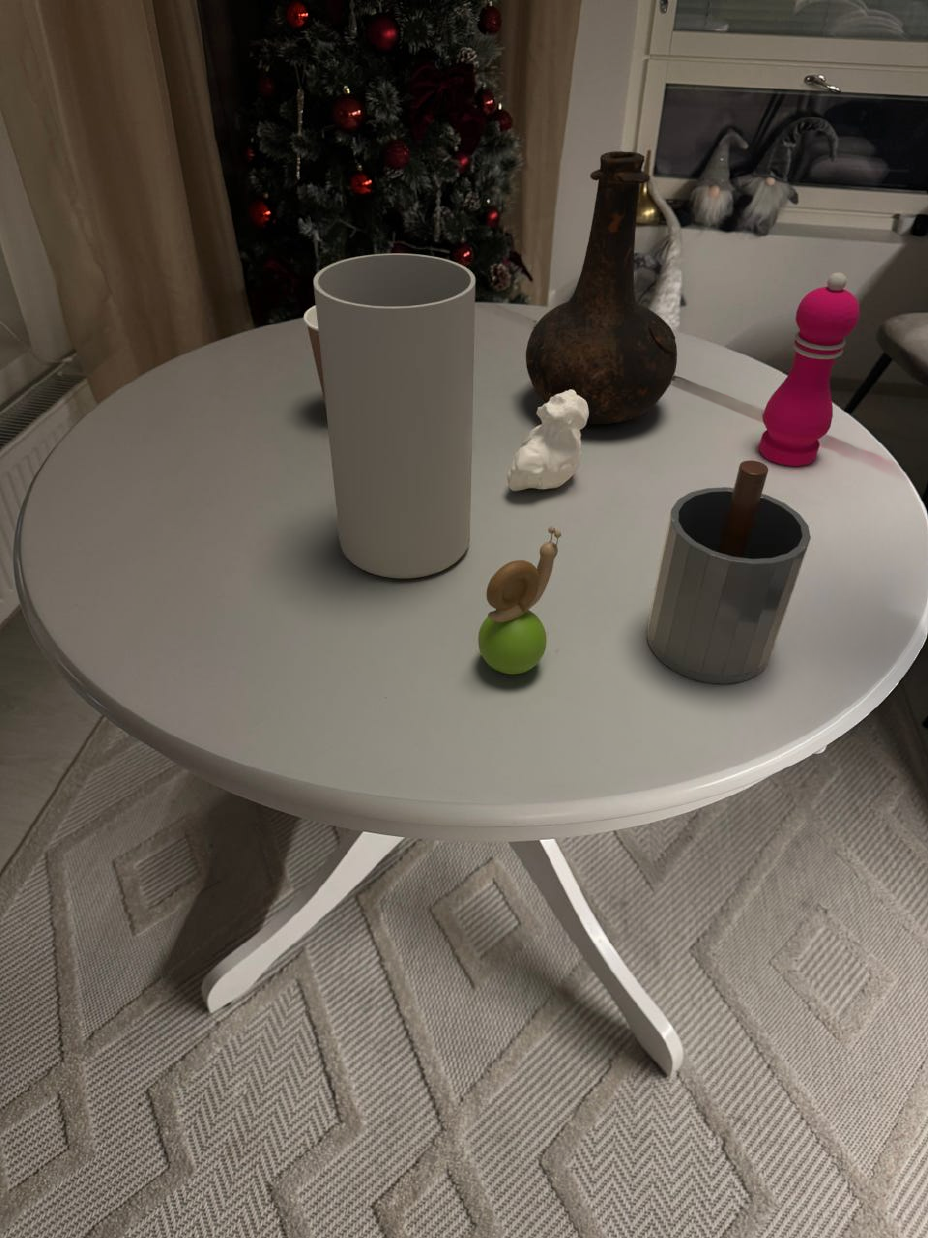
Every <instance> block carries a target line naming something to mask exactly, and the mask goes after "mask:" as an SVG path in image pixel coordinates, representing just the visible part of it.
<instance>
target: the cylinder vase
mask: <svg viewBox="0 0 928 1238" xmlns="http://www.w3.org/2000/svg"><path fill="white" fill-rule="evenodd" d="M313 290H314V291H313V293H314V301H315V305H316V311H317V321H318V331H319V341H320V351H321V361H322V371H323V381H324V391H325V401H326V406H325V409H326V419H327V428H328V429H327V430H328V439H329V449H330V460H331V470H332V478H333V489H334V499H335V508H336V518H337V519H336V520H337V526H338V527H337V529H338V538H339V545H340V549H341V551H342V553H343V554H344V555H345V557H346V558H347V560H349V561H350V563H352V564H353V565H355V567H357V568H359V569H361V570H363V571H364V572H367V573H368V574H369V573H370V574H372V575H375V576H378V577H382V578H383V577H384V578H390V579H415V578H422V577H427V576H430V575H434V574H437V573H439V572H442V571H444V570H446V569H448V568H449V567H451V566H453V565H454V564H455V563H456V562H458V561H459V560H460V559H461V558H462V557H463V556H464V554H465V553H466V551H467V550H468V548H469V544H470V540H471V509H472V506H471V505H472V504H471V503H472V501H471V500H472V464H473V463H472V461H473V460H472V459H473V458H472V457H473V414H474V406H473V405H474V369H475V368H474V365H475V364H474V361H475V318H476V316H475V315H476V314H475V311H476V277H475V274H474V273H473V272H472V271H471V270H470V269H469V268H467V267H466V266H464V265H462V264H460V263H458V262H455V261H453V260H449V259H447V258H441V257H439V256H432V255H425V254H416V253H378V254H377V253H376V254H368V255H366V254H365V255H361V256H360V255H359V256H355V257H350V258H347V259H346V258H345V259H342V260H339V261H336V262H334V263H331V264H329V265H326V266H325V267H323V268H322V269H321V270H319V271H318V272H317V273H316V274H315V276H314V278H313Z"/></svg>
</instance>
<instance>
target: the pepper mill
mask: <svg viewBox="0 0 928 1238" xmlns="http://www.w3.org/2000/svg"><path fill="white" fill-rule="evenodd" d="M847 281H848V280H847V276H846V275H845V274H844V273H842V272H835V273H832V274H831V275H830V276H829V277H828V279H827V282H826V286H822V287H818V288H815V289H813V290H811V291H810V292H808V293H807V294H806V295H805V296H804V297H803V298H802V299H801V301H800V302H799V304H798V307H797V309H796V311H795V322H796V325H797V327H798V329H799V331H797V332H796V333H795V335H794V341H793V342H792V348H793V350H794V351H795V352H794V359H793V362H792V366H791V368H790V371H789V373H788V374H787V376H786V378H785V379H784V380H783V382H782V383H781V384H780V385H779V387H778V388H777V389H776V390H775V391H774V392H773V394H772V395H771V396H770V398H769V399H768V401H767V403H766V406H765V407H764V410H763V413H762V422H763V425H764V427H765V429H766V430H765V431H763V432H762V434H761V438H760V442H759V446H758V450H759V453H760V454H761V455H762V457H764V458H765V459H766V460H769V461H770V462H772V463H774V464H778V465H783V466H786V467H787V466H788V467H803V466H807V465H810V464H811V463H813V462H814V461H815V460H816V458H817V456H818V455H817V454H818V451H819V449H820V441H819V439H821V438H822V437H824V436H825V435H826V434H827V433H828V432H830V429H831V427H832V421H833V417H834V407H833V406H834V405H833V400H832V394H831V386H830V385H831V383H830V382H831V375H832V370H833V367H834V364H835V362H836V360H837V358H839V357H840V356H842V355H843V353H844V347H845V345H846V344H847V343H846V340H845V337H846V336H848V335H850V333H852V332H853V331H854V329H856V327H857V325H858V322H859V318H860V313H861V311H860V304H859V301H858V299H857V298H856V295H854V294H853V293H852V292H850V291H849V290H847V289H844V288H845V287H846V285H847Z"/></svg>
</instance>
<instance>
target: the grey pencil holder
mask: <svg viewBox="0 0 928 1238" xmlns="http://www.w3.org/2000/svg"><path fill="white" fill-rule="evenodd" d="M733 489H734V487H726V486H725V487H724V486H723V487H707V488H703V489H699V490H695V491H691V492H689V493H687V494H686V495H684V496H682V497H680V498H679V499H677V501H675V503H674V504H673V507H672V508H671V509H670V513H669V518H668V521H667V522H668V523H667V528H666V532H665V537H664V543H663V547H662V551H661V557H660V562H659V565H658V566H659V567H658V571H657V575H656V576H657V577H656V582H655V586H654V591H653V597H652V601H651V606H650V611H649V615H648V623H647V624H648V625H647V628H646V640H647V642H648V645H649V648H650V649H651V651H652V653H653V654H654V655H655V657H656V658H657V659H658V660H659V662H661V663H662V664H663V665H664V666H666V667H668V668H669V669H671V670H672V671H673V672H675V673H677V674H679V675H682V676H684V677H686V678H689V679H692V680H696V681H697V682H698V681H699V682H702V683H708V684H718V685H724V684H736V683H740V682H741V683H742V682H744V681H748V680H750V679H753V678H754V677H756V676H757V675H759V674H760V673H761V672H762V671H763V670H764V669H765V668H766V667H767V665H768V664H769V661H770V659H771V656H772V653H773V650H774V648H775V645H776V642H777V639H778V636H779V633H780V629H781V627H782V625H783V622H784V618H785V616H786V613H787V611H788V607H789V604H790V601H791V597H792V595H793V592H794V589H795V586H796V584H797V580H798V577H799V574H800V571H801V568H802V565H803V562H804V560H805V557H806V553H807V551H808V547H809V545H810V542H811V539H812V537H811V531H810V527H809V525H808V523H807V522H806V521H805V519H804V518H803V517H802V515H801V514H800V513H799V512H798V511H796V510H795V509H793V508H792V507H791V506H789V505H788V504H787V503H786V502H783V501H781V500H779V499H776V498H774V497H772V496H770V495H767V494H764V493H762V495H761V498H760V502H759V505H758V509H757V512H756V516H755V519H754V523H753V526H752V530H751V534H750V537H749V541H748V544H747V548H746V551H745V555H744V558H741V557H733V556H729V555H726V554H722V553H719V552H718V548H719V544H720V540H721V536H722V532H723V529H724V525H725V521H726V517H727V513H728V509H729V505H730V501H731V497H732V493H733Z"/></svg>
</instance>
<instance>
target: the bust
mask: <svg viewBox="0 0 928 1238" xmlns="http://www.w3.org/2000/svg"><path fill="white" fill-rule="evenodd" d="M535 414H536V415H537V416H538V417H539V418H540V419H539V420H540V421H541V424H539V425H537V426H535V427H534V428H533V429H531V430H530V431H529V432H528V434H527V437H526V438H525V440H524V441H523V442H522V443H521V445H520V448H519V449H518V450H517V451H516V453H515V454H514V456H513V458H512V460H511V462H510V465H509V466H508V470H507V475H506V476H507V477H506V479H507V484H508V488H509V489H510V490H511V491H513V492H519V491H524V490H527V489H537V490H548V489H556V488H559V487H561V486H563V485H564V484H565V483H566V482H568V481H569V480H570V479H571V477H573V476H574V475H575V473H576V472H577V471H578V469H579V465H580V462H581V458H582V452H581V449H582V441H581V437H582V434H581V431H580V430H582V429H584V428H585V426H586V425H587V424H588V423H587V419H588V416H589V411H588V405H587V402H586V401H585V400H584V399H583V398H582V397H580V396H579V395H577V394H576V392H575V391H574V390H571V389H570V390H568V391H565V392H563V393H560V394H556V395H555V396H553V397H551V398H550V401H549V402H548V403H545V402H544V403H543V405H542V406H538V407H537V410H536V413H535Z"/></svg>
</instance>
